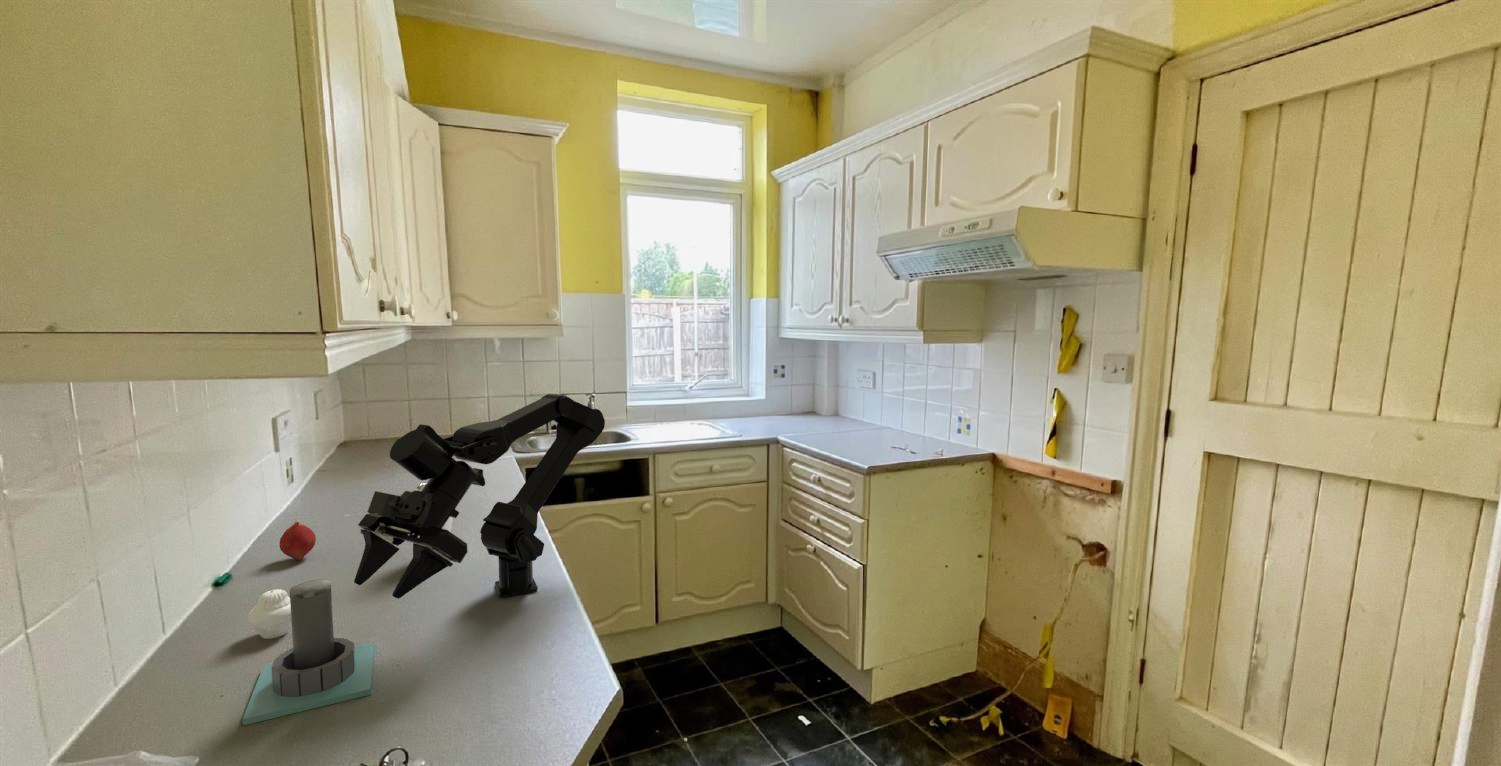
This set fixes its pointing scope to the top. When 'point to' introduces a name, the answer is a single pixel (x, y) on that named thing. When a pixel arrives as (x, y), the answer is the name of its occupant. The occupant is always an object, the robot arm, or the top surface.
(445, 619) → the top surface
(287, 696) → the socket
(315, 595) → the plug
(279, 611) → the muffin
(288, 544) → the onion
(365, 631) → the top surface
